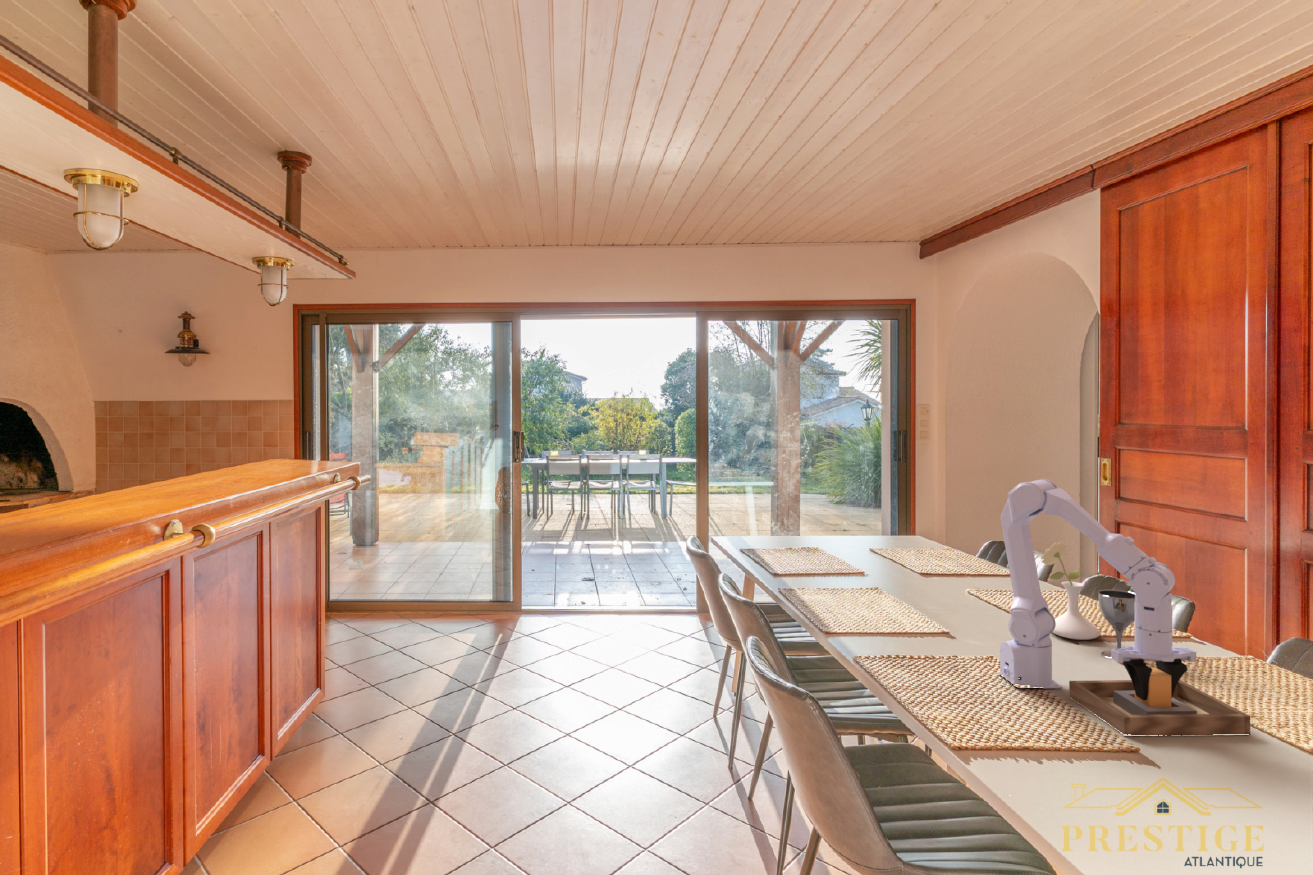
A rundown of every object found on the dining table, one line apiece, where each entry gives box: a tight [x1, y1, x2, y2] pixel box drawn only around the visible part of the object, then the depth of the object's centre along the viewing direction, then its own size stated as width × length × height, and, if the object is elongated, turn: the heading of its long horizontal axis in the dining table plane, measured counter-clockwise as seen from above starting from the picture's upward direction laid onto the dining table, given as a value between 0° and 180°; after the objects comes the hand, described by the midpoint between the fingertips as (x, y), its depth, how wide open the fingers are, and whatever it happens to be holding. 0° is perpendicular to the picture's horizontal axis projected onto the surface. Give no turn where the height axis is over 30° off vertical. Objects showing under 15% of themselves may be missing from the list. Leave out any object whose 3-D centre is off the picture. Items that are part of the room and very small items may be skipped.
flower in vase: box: [1040, 541, 1101, 641], centre depth 165 cm, size 13×11×25 cm
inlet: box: [1113, 690, 1197, 715], centre depth 121 cm, size 9×9×2 cm
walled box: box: [1068, 679, 1251, 737], centre depth 121 cm, size 22×16×4 cm
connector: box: [1134, 667, 1171, 707], centre depth 121 cm, size 4×4×7 cm
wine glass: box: [1098, 588, 1135, 660], centre depth 151 cm, size 8×8×15 cm
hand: (1153, 697), depth 121 cm, fingers closed on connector, 4 cm apart
